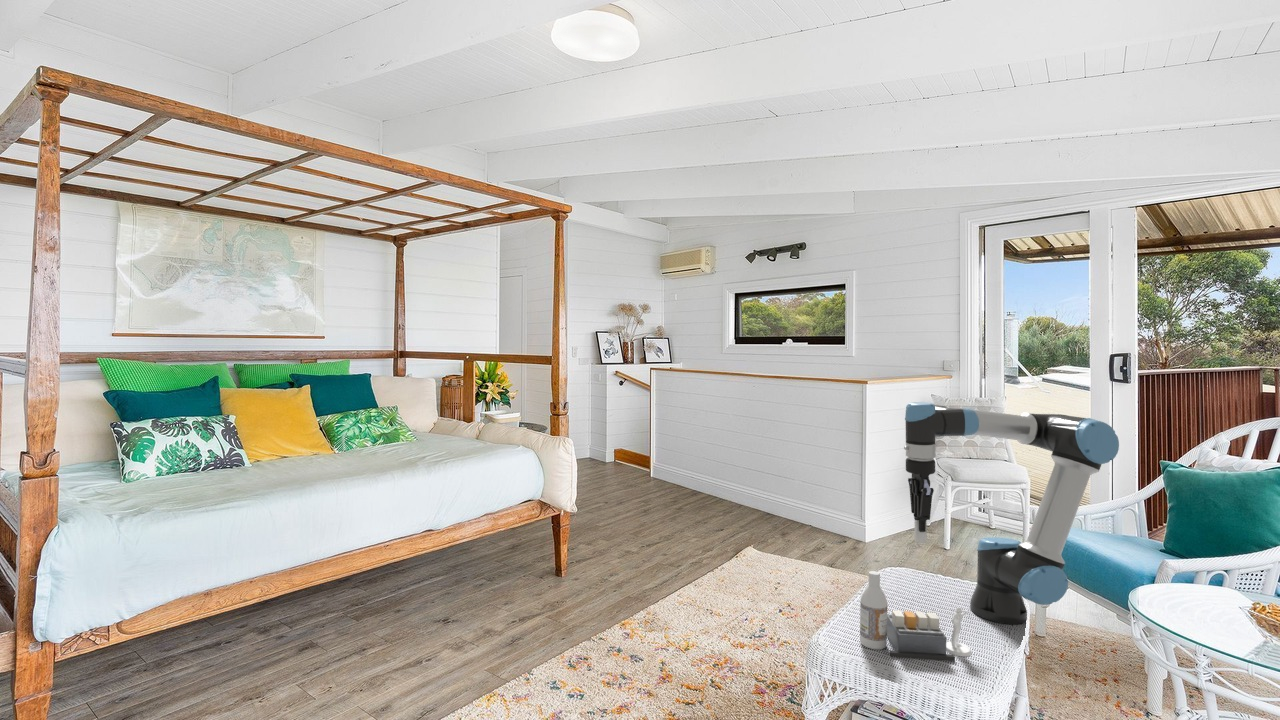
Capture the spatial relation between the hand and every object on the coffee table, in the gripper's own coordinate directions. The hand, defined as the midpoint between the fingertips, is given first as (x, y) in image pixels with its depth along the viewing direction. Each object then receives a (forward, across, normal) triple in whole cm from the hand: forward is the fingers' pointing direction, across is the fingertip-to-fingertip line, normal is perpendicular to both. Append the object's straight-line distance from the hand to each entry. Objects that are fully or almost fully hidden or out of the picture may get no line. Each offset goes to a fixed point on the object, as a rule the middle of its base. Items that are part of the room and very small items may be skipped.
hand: (920, 541), depth 170 cm
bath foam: (+28, +4, -14) cm, 31 cm away
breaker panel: (+28, +4, -3) cm, 28 cm away
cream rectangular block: (+22, +5, +2) cm, 22 cm away
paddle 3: (+22, +4, -2) cm, 22 cm away
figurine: (+28, +5, +8) cm, 30 cm away
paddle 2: (+22, +4, -4) cm, 23 cm away
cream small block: (+22, +4, -8) cm, 23 cm away
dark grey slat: (+28, +10, -3) cm, 30 cm away
